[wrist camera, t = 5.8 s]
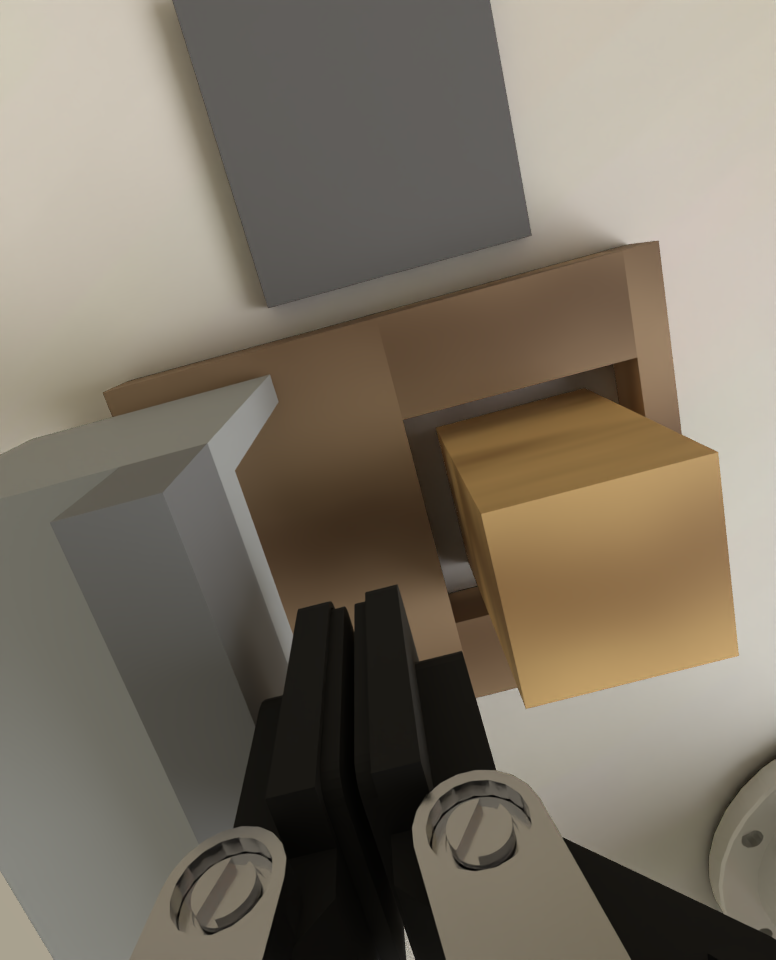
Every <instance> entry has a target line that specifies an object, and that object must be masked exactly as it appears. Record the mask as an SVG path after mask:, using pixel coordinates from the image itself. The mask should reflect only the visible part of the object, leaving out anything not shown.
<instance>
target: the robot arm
mask: <svg viewBox="0 0 776 960" xmlns="http://www.w3.org/2000/svg"><path fill="white" fill-rule="evenodd" d="M709 879H710V883H711V887H712V890H713V894H714V898H715V899H716V901H717V903H718V905H719V906H720V908H721V910H722V912H723V913H721V912H719V911H717V910H714V909H712V908H710V907H708V906H706V905H704V904H702V903H700V902H698V901H696V900H693V899H691V898H689V897H687V896H685V895H683V894H681V893H679V892H677V891H674V890H672V889H670V888H668V887H666V886H664V885H662V884H660V883H658V882H656V881H653V880H651V879H649V878H647V877H645V876H643V875H641V874H639V873H637V872H634V871H632V870H630V869H628V868H626V867H624V866H622V865H620V864H618V863H616V862H613V861H611V860H609V859H607V858H605V857H603V856H601V855H599V854H597V853H594V852H592V851H590V850H588V849H586V848H584V847H582V846H580V845H578V844H576V843H573V842H571V841H569V840H567V839H565V838H563V837H562V836H561V835H560V833H559V831H558V829H557V828H556V826H555V824H554V822H553V821H552V819H551V817H550V815H549V813H548V812H547V810H546V808H545V806H544V805H543V803H542V801H541V799H540V798H539V797H538V795H537V794H536V793H535V792H534V791H533V789H532V788H531V787H530V786H529V785H528V784H527V783H525V782H523V781H522V780H520V779H519V778H517V777H515V776H514V775H511V774H507V773H504V772H500V771H496V768H495V764H494V761H493V757H492V754H491V750H490V747H489V743H488V740H487V736H486V733H485V729H484V726H483V722H482V719H481V715H480V712H479V708H478V705H477V701H476V698H475V694H474V691H473V687H472V684H471V680H470V677H469V673H468V670H467V666H466V663H465V659H464V656H463V652H462V651H459V652H455V653H451V654H447V655H443V656H439V657H435V658H431V659H427V660H423V661H419V658H418V655H417V651H416V647H415V644H414V640H413V637H412V633H411V629H410V626H409V622H408V618H407V615H406V611H405V608H404V604H403V600H402V597H401V593H400V590H399V587H398V584H396V585H392V586H388V587H384V588H380V589H376V590H372V591H368V592H365V601H364V602H360V603H356V604H355V605H354V629H353V626H352V623H351V619H350V616H349V613H348V610H347V608H346V607H345V606H344V607H340V608H336V609H335V607H334V605H333V603H332V602H331V601H328V602H324V603H320V604H316V605H312V606H308V607H304V608H300V609H298V611H297V616H296V621H295V627H294V633H293V639H292V645H291V651H290V656H289V662H288V668H287V674H286V680H285V686H284V692H283V695H281V696H277V697H273V698H269V699H265V700H264V701H262V703H261V706H260V708H259V713H258V717H257V722H256V726H255V731H254V735H253V740H252V744H251V749H250V754H249V758H248V763H247V767H246V772H245V776H244V781H243V785H242V790H241V795H240V799H239V804H238V808H237V813H236V817H235V822H234V826H233V829H229V830H225V831H222V832H220V833H218V834H216V835H214V836H212V837H210V838H208V839H206V840H205V841H203V842H202V843H201V844H199V845H198V846H197V847H195V848H194V849H193V850H192V851H190V852H189V853H188V854H187V855H186V856H185V857H184V858H183V859H182V860H181V861H180V862H179V864H178V865H177V866H176V867H175V868H174V869H173V870H172V872H171V874H170V875H169V877H168V879H167V880H166V882H165V884H164V885H163V887H162V889H161V891H160V893H159V895H158V897H157V900H156V902H155V904H154V906H153V908H152V911H151V913H150V915H149V917H148V919H147V922H146V924H145V926H144V928H143V930H142V933H141V935H140V937H139V939H138V941H137V944H136V946H135V948H134V950H133V952H132V955H131V957H130V959H129V960H406V950H405V937H404V928H405V930H406V933H407V936H408V939H409V942H410V945H411V948H412V951H413V954H414V957H415V960H776V758H775V759H774V760H773V761H771V762H770V763H768V764H767V765H766V766H764V767H763V768H762V769H761V770H760V771H759V772H758V773H757V774H756V775H755V776H754V777H753V778H752V779H751V780H750V781H749V782H748V783H747V784H746V785H745V786H744V787H742V788H741V790H740V791H739V793H738V794H737V795H736V797H735V798H734V800H733V801H732V802H731V804H730V805H729V806H728V808H727V809H726V811H725V813H724V815H723V817H722V819H721V821H720V823H719V825H718V827H717V830H716V832H715V834H714V838H713V842H712V846H711V850H710V855H709Z"/></svg>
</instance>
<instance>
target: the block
mask: <svg viewBox="0 0 776 960" xmlns="http://www.w3.org/2000/svg"><path fill="white" fill-rule="evenodd" d="M436 432H437V436H438V440H439V444H440V448H441V452H442V456H443V460H444V464H445V468H446V472H447V477H448V481H449V485H450V489H451V493H452V497H453V501H454V505H455V509H456V513H457V517H458V522H459V526H460V530H461V534H462V538H463V542H464V546H465V550H466V554H467V558H468V562H469V565H470V567H471V570H472V572H473V575H474V578H475V580H476V583H477V585H478V588H479V590H480V593H481V595H482V598H483V600H484V603H485V606H486V608H487V611H488V613H489V616H490V618H491V621H492V623H493V626H494V628H495V631H496V634H497V636H498V639H499V641H500V644H501V646H502V649H503V651H504V654H505V656H506V659H507V662H508V664H509V667H510V669H511V672H512V674H513V677H514V679H515V682H516V684H517V687H518V690H519V692H520V695H521V697H522V700H523V702H524V705H525V707H526V709H527V708H531V707H535V706H539V705H543V704H547V703H551V702H555V701H559V700H563V699H567V698H571V697H575V696H579V695H583V694H587V693H591V692H595V691H599V690H603V689H607V688H611V687H615V686H619V685H623V684H627V683H631V682H635V681H639V680H643V679H647V678H652V677H656V676H660V675H664V674H668V673H672V672H676V671H680V670H684V669H688V668H692V667H696V666H700V665H704V664H708V663H712V662H716V661H720V660H724V659H728V658H732V657H736V656H739V653H738V643H737V634H736V624H735V614H734V604H733V594H732V585H731V575H730V565H729V555H728V545H727V535H726V526H725V516H724V506H723V496H722V486H721V477H720V467H719V457H718V452H716V451H714V450H712V449H710V448H708V447H706V446H704V445H702V444H700V443H698V442H696V441H694V440H692V439H690V438H687V437H685V436H683V435H681V434H679V433H677V432H675V431H673V430H671V429H669V428H667V427H665V426H663V425H661V424H658V423H656V422H654V421H652V420H650V419H648V418H646V417H644V416H642V415H640V414H638V413H636V412H634V411H632V410H629V409H627V408H625V407H623V406H621V405H619V404H617V403H615V402H613V401H611V400H609V399H607V398H605V397H602V396H600V395H598V394H596V393H594V392H592V391H590V390H588V389H586V388H583V389H579V390H575V391H572V392H568V393H564V394H560V395H557V396H553V397H549V398H545V399H542V400H538V401H534V402H530V403H526V404H523V405H519V406H515V407H511V408H508V409H504V410H500V411H496V412H493V413H489V414H485V415H481V416H478V417H474V418H470V419H466V420H463V421H459V422H455V423H451V424H448V425H444V426H440V427H436Z"/></svg>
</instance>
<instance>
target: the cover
mask: <svg viewBox="0 0 776 960" xmlns="http://www.w3.org/2000/svg"><path fill="white" fill-rule="evenodd" d="M278 402H279V401H278V398H277V395H276V392H275V389H274V386H273V383H272V380H271V376H270V375H266V376H262V377H259V378H255V379H251V380H248V381H244V382H240V383H237V384H233V385H229V386H225V387H222V388H218V389H214V390H211V391H207V392H203V393H200V394H196V395H192V396H189V397H185V398H181V399H178V400H174V401H170V402H167V403H163V404H159V405H156V406H152V407H148V408H145V409H141V410H137V411H133V412H130V413H126V414H122V415H119V416H115V417H111V418H108V419H104V420H100V421H97V422H93V423H89V424H86V425H82V426H78V427H75V428H71V429H67V430H64V431H60V432H56V433H52V434H49V435H45V436H41V437H38V438H34V439H31V440H29V441H27V442H25V443H23V444H21V445H19V446H17V447H15V448H13V449H11V450H9V451H7V452H5V453H3V454H1V455H0V871H1V873H2V875H3V876H4V878H5V880H6V881H7V883H8V885H9V886H10V888H11V890H12V891H13V893H14V895H15V896H16V898H17V900H18V901H19V903H20V904H21V906H22V908H23V910H24V911H25V913H26V914H27V916H28V918H29V920H30V921H31V923H32V924H33V926H34V928H35V929H36V931H37V933H38V935H39V936H40V938H41V939H42V941H43V943H44V944H45V946H46V948H47V949H48V951H49V953H50V954H51V956H52V958H53V959H54V960H129V959H130V957H131V955H132V952H133V950H134V948H135V946H136V944H137V941H138V939H139V937H140V935H141V933H142V930H143V928H144V926H145V924H146V922H147V919H148V917H149V915H150V913H151V911H152V908H153V906H154V904H155V902H156V900H157V897H158V895H159V893H160V891H161V889H162V887H163V885H164V884H165V882H166V880H167V879H168V877H169V875H170V874H171V872H172V870H173V869H174V868H175V867H176V866H177V865H178V864H179V862H180V861H181V860H182V859H183V858H184V857H185V856H186V855H187V854H188V853H189V852H190V851H192V850H193V849H194V848H195V847H197V846H198V845H199V844H201V843H202V842H203V841H205V840H206V839H208V838H210V837H212V836H214V835H216V834H218V833H220V832H222V831H225V830H229V829H233V826H234V822H235V817H236V813H237V808H238V804H239V799H240V795H241V790H242V785H243V781H244V776H245V772H246V767H247V763H248V758H249V754H250V749H251V744H252V740H253V735H254V731H255V726H256V722H257V717H258V713H259V708H260V706H261V703H262V701H264V700H265V699H269V698H273V697H277V696H281V695H283V692H284V686H285V680H286V674H287V668H288V662H289V656H290V651H291V645H292V639H293V633H292V630H291V628H290V625H289V622H288V619H287V616H286V614H285V611H284V608H283V605H282V602H281V599H280V597H279V594H278V591H277V588H276V585H275V583H274V580H273V577H272V574H271V571H270V568H269V566H268V563H267V560H266V557H265V554H264V552H263V549H262V546H261V543H260V540H259V537H258V535H257V532H256V529H255V526H254V523H253V520H252V518H251V515H250V512H249V509H248V506H247V504H246V501H245V498H244V495H243V492H242V489H241V487H240V484H239V481H238V478H237V475H236V473H235V470H236V468H237V466H238V465H239V463H240V462H241V460H242V459H243V457H244V455H245V454H246V452H247V451H248V449H249V448H250V446H251V444H252V443H253V441H254V440H255V438H256V437H257V435H258V433H259V432H260V430H261V429H262V427H263V426H264V424H265V423H266V421H267V419H268V418H269V416H270V415H271V413H272V412H273V410H274V408H275V407H276V405H277V404H278Z"/></svg>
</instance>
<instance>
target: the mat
mask: <svg viewBox="0 0 776 960" xmlns="http://www.w3.org/2000/svg"><path fill="white" fill-rule="evenodd" d="M173 4H174V7H175V10H176V13H177V16H178V20H179V23H180V26H181V29H182V33H183V36H184V39H185V42H186V45H187V49H188V52H189V55H190V58H191V61H192V65H193V68H194V71H195V74H196V78H197V81H198V84H199V87H200V90H201V94H202V97H203V100H204V103H205V107H206V110H207V113H208V116H209V119H210V123H211V126H212V129H213V132H214V135H215V139H216V142H217V145H218V148H219V152H220V155H221V158H222V161H223V164H224V168H225V171H226V174H227V177H228V181H229V184H230V187H231V190H232V193H233V197H234V200H235V203H236V206H237V209H238V213H239V216H240V219H241V222H242V226H243V229H244V232H245V235H246V238H247V242H248V245H249V248H250V251H251V255H252V258H253V261H254V264H255V267H256V271H257V274H258V277H259V280H260V283H261V287H262V290H263V293H264V296H265V300H266V303H267V306H268V308H270V307H274V306H278V305H281V304H285V303H288V302H292V301H296V300H299V299H303V298H307V297H310V296H314V295H317V294H321V293H325V292H328V291H332V290H336V289H339V288H343V287H347V286H350V285H354V284H357V283H361V282H365V281H368V280H372V279H376V278H379V277H383V276H386V275H390V274H394V273H397V272H401V271H405V270H408V269H412V268H415V267H419V266H423V265H426V264H430V263H434V262H437V261H441V260H444V259H448V258H452V257H455V256H459V255H463V254H466V253H470V252H473V251H477V250H481V249H484V248H488V247H492V246H495V245H499V244H503V243H506V242H510V241H513V240H517V239H521V238H524V237H528V236H532V235H531V229H530V224H529V218H528V212H527V207H526V201H525V195H524V190H523V184H522V179H521V173H520V167H519V162H518V156H517V150H516V145H515V139H514V134H513V128H512V122H511V117H510V111H509V106H508V100H507V94H506V89H505V83H504V77H503V72H502V66H501V61H500V55H499V49H498V44H497V38H496V32H495V27H494V21H493V16H492V10H491V4H490V0H173Z"/></svg>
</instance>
